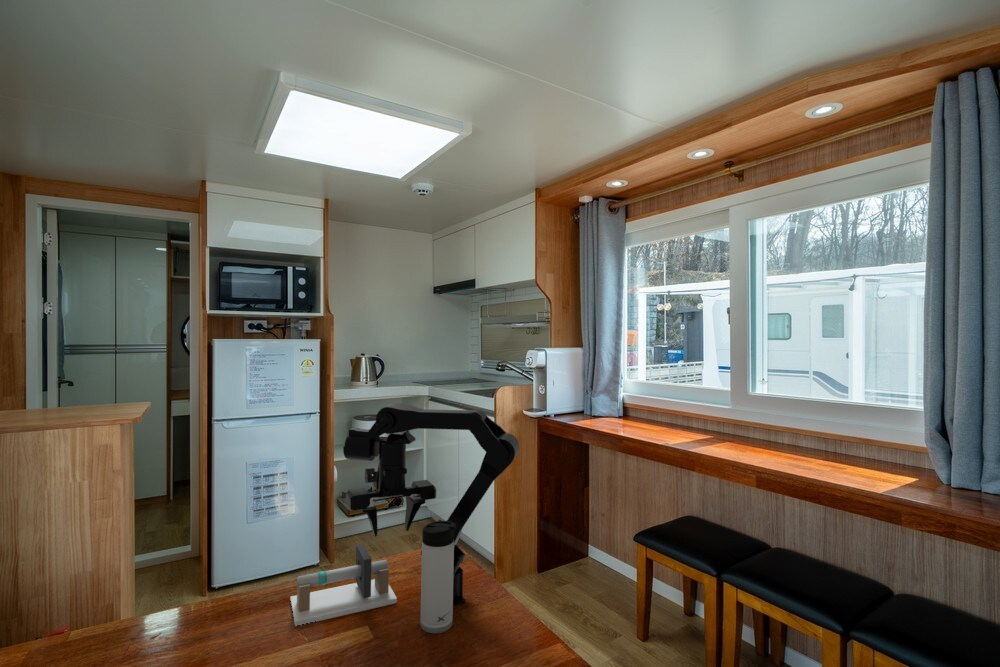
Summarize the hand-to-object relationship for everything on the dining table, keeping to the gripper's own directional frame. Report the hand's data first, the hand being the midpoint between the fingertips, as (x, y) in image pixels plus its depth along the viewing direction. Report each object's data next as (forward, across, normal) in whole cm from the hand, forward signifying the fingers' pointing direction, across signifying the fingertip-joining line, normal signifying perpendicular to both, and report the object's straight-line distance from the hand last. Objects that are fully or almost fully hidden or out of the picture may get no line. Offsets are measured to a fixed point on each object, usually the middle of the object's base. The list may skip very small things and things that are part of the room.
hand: (391, 533), depth 112 cm
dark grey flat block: (+11, +6, 0) cm, 12 cm away
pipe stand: (+13, +10, 0) cm, 16 cm away
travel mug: (+13, -5, +16) cm, 21 cm away
